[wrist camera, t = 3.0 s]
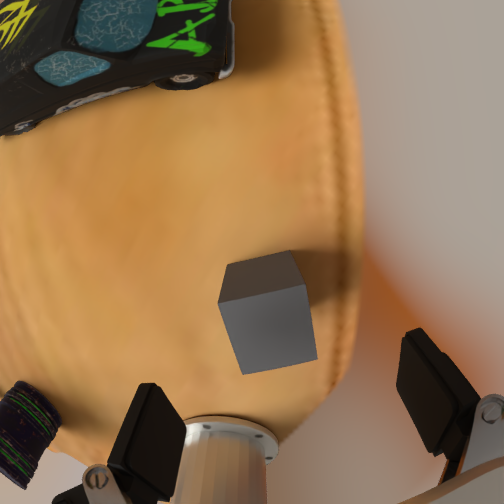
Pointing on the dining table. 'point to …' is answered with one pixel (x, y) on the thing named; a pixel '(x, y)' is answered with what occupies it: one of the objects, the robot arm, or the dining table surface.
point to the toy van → (105, 52)
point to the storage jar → (25, 431)
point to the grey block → (267, 313)
